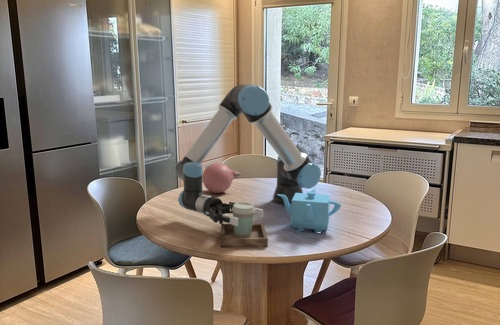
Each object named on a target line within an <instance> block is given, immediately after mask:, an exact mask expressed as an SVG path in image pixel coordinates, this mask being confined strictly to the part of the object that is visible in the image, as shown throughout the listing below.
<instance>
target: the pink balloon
mask: <svg viewBox="0 0 500 325" xmlns="http://www.w3.org/2000/svg"><path fill="white" fill-rule="evenodd" d="M239 176H242V173H241V172H238V170H233V169H230V168H229V167H228V166H227V165H226V164H223V163H220V162H215V163H211V164H209V165H208V166H207V167H206V168H205V170H204V171H203V173H202V185H204V187H205V189H207V190H208V191H209V192H211V193H215V194H220V193H224V192H226V191H228V190H229V189H230V187H231V186H232V184H233V181H234V179H238V178H239Z"/></svg>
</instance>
